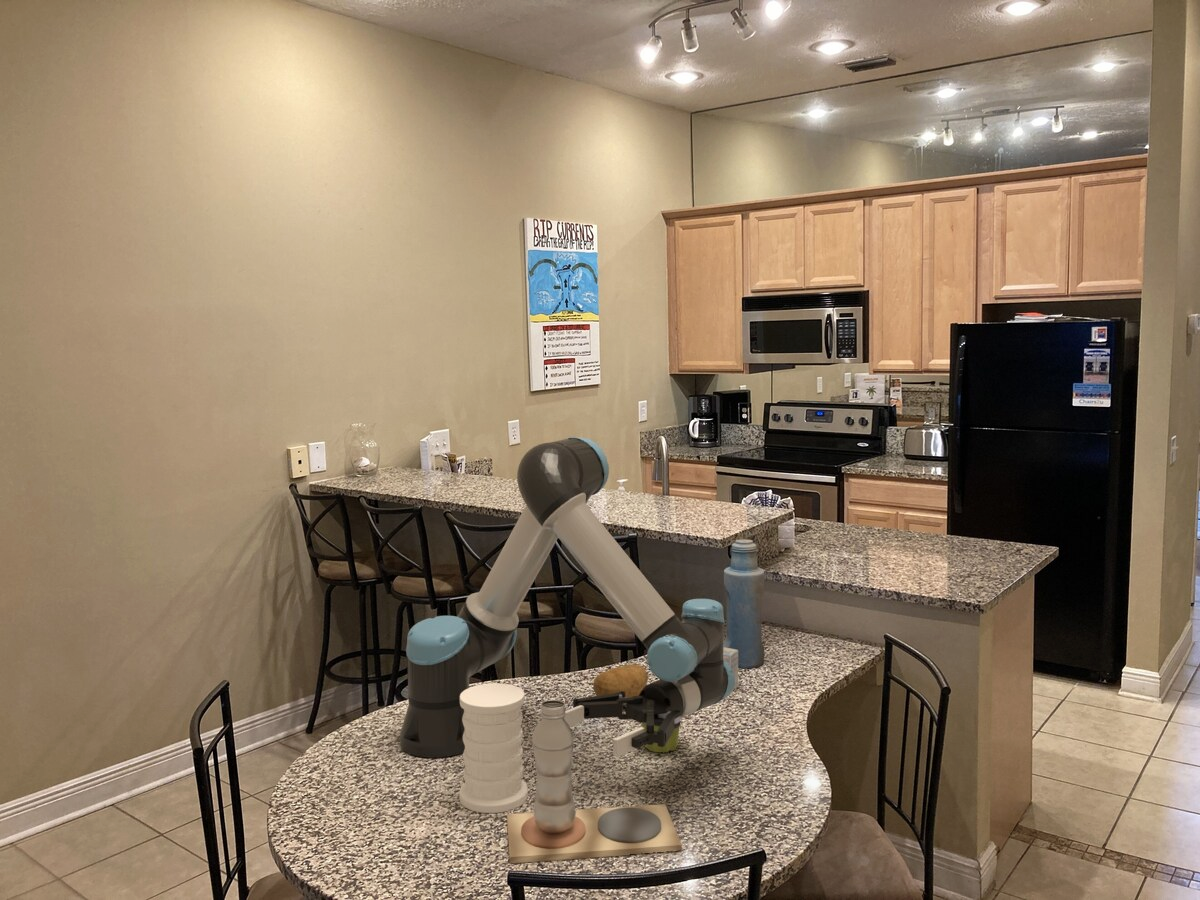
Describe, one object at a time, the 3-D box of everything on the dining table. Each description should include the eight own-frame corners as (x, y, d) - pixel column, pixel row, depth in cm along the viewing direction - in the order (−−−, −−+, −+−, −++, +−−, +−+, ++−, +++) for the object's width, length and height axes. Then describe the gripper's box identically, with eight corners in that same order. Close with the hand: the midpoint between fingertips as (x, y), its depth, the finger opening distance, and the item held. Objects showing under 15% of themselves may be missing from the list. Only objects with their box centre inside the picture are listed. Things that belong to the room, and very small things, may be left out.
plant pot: (682, 759, 176) (682, 714, 175) (632, 755, 178) (632, 710, 177) (688, 739, 185) (688, 696, 184) (640, 735, 187) (640, 692, 186)
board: (509, 863, 141) (509, 853, 140) (507, 820, 153) (507, 810, 153) (681, 851, 144) (681, 841, 144) (665, 809, 157) (665, 800, 156)
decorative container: (470, 818, 154) (468, 712, 152) (451, 788, 165) (449, 688, 163) (537, 805, 159) (536, 701, 157) (515, 776, 169) (514, 678, 167)
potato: (660, 700, 205) (660, 664, 204) (616, 718, 195) (616, 681, 194) (627, 689, 212) (627, 654, 211) (582, 706, 202) (582, 670, 201)
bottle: (766, 669, 225) (769, 544, 221) (725, 669, 225) (726, 544, 221) (760, 656, 234) (762, 536, 231) (720, 655, 234) (722, 536, 231)
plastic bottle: (561, 843, 143) (559, 715, 141) (524, 831, 147) (522, 706, 145) (584, 824, 149) (582, 701, 147) (548, 814, 152) (546, 693, 150)
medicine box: (738, 686, 213) (739, 649, 212) (730, 693, 209) (730, 655, 208) (707, 680, 217) (707, 643, 216) (698, 686, 214) (698, 648, 213)
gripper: (726, 740, 158) (642, 782, 143) (616, 702, 176) (531, 736, 160) (726, 696, 158) (642, 735, 142) (616, 663, 175) (531, 693, 159)
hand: (583, 736), depth 151 cm, fingers open, 13 cm apart
